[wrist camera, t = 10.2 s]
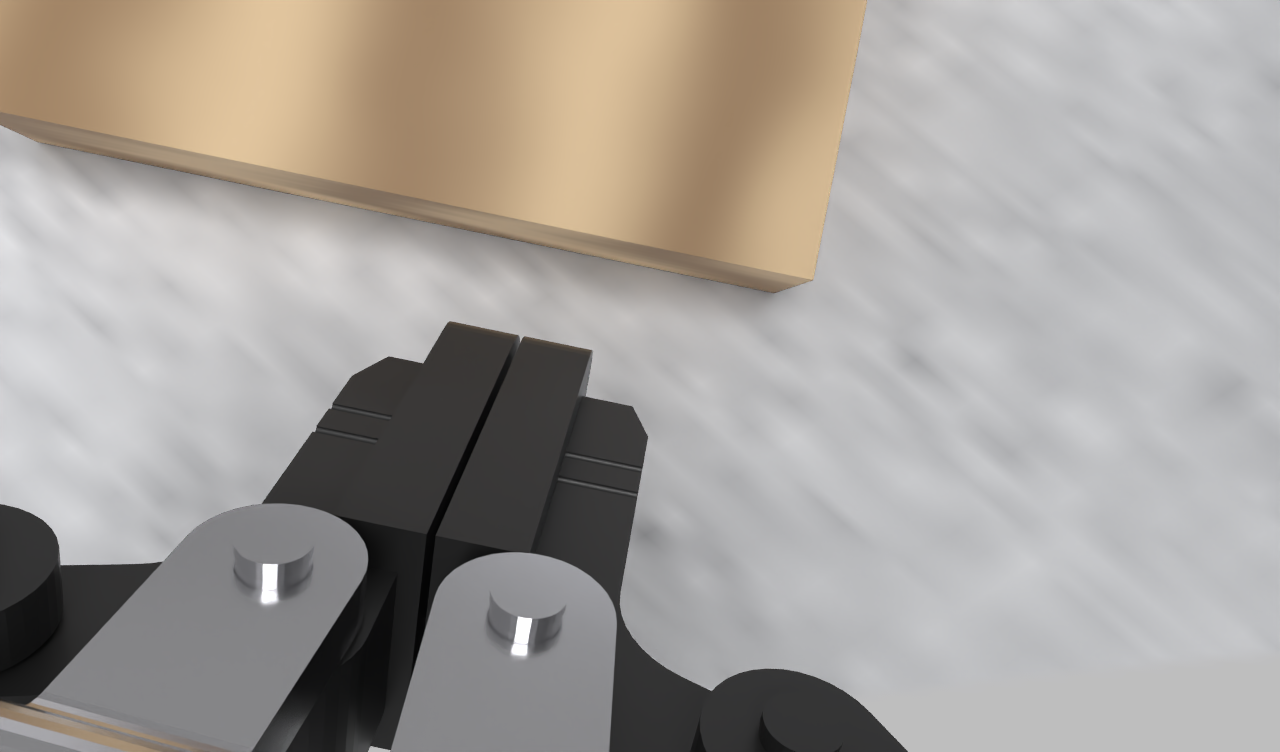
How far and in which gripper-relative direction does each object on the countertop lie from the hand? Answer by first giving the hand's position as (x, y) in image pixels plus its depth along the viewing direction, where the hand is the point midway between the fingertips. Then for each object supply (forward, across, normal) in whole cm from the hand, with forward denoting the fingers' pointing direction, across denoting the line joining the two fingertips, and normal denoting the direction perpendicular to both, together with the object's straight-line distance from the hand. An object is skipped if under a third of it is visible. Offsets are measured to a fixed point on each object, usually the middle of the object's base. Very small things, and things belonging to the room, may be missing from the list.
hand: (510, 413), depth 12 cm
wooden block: (+18, +5, 0) cm, 18 cm away
